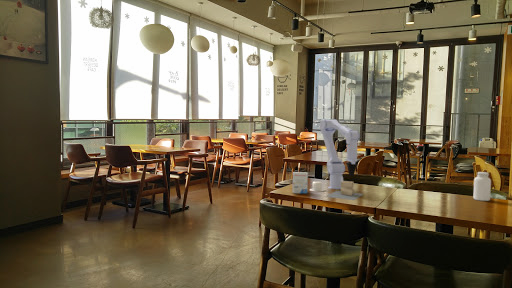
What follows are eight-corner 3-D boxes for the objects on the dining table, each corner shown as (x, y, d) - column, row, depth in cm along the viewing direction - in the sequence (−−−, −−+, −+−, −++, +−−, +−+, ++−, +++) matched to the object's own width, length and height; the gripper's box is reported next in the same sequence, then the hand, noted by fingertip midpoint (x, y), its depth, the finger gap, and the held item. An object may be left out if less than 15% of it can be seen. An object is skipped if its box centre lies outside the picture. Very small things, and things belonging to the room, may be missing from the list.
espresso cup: (312, 188, 237) (313, 180, 237) (326, 190, 233) (327, 182, 232) (307, 190, 229) (307, 182, 229) (321, 192, 225) (321, 184, 225)
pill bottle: (487, 198, 215) (489, 172, 214) (491, 201, 207) (493, 173, 206) (471, 197, 217) (473, 171, 216) (474, 200, 210) (476, 173, 209)
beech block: (342, 192, 222) (343, 180, 222) (353, 194, 219) (353, 181, 219) (340, 194, 219) (341, 181, 218) (351, 195, 216) (351, 182, 215)
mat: (336, 191, 228) (336, 190, 228) (363, 194, 220) (363, 193, 220) (324, 197, 211) (324, 196, 211) (354, 201, 203) (354, 200, 203)
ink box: (307, 192, 226) (307, 171, 225) (307, 193, 221) (307, 173, 220) (292, 191, 227) (292, 171, 226) (292, 193, 222) (292, 172, 221)
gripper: (343, 150, 231) (342, 173, 232) (346, 152, 217) (345, 176, 218) (355, 151, 230) (355, 173, 231) (359, 153, 216) (358, 177, 217)
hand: (351, 175), depth 224 cm, fingers open, 4 cm apart
